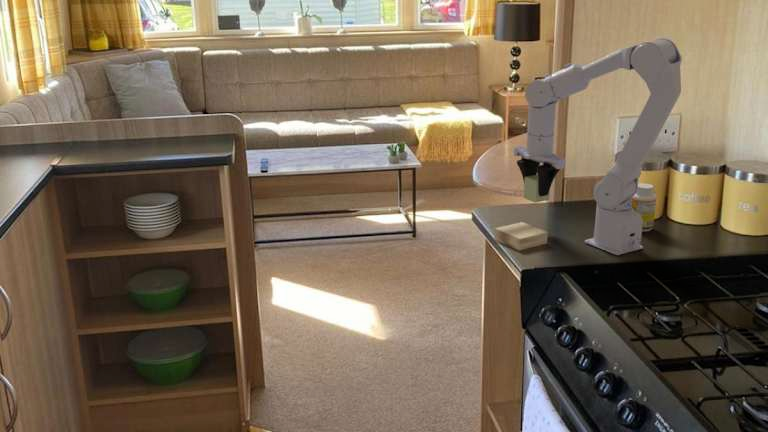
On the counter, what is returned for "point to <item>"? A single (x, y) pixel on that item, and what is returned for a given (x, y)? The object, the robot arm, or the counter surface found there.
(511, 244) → the birch base
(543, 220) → the counter surface
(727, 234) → the counter surface
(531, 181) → the sage block
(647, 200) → the supplement bottle
